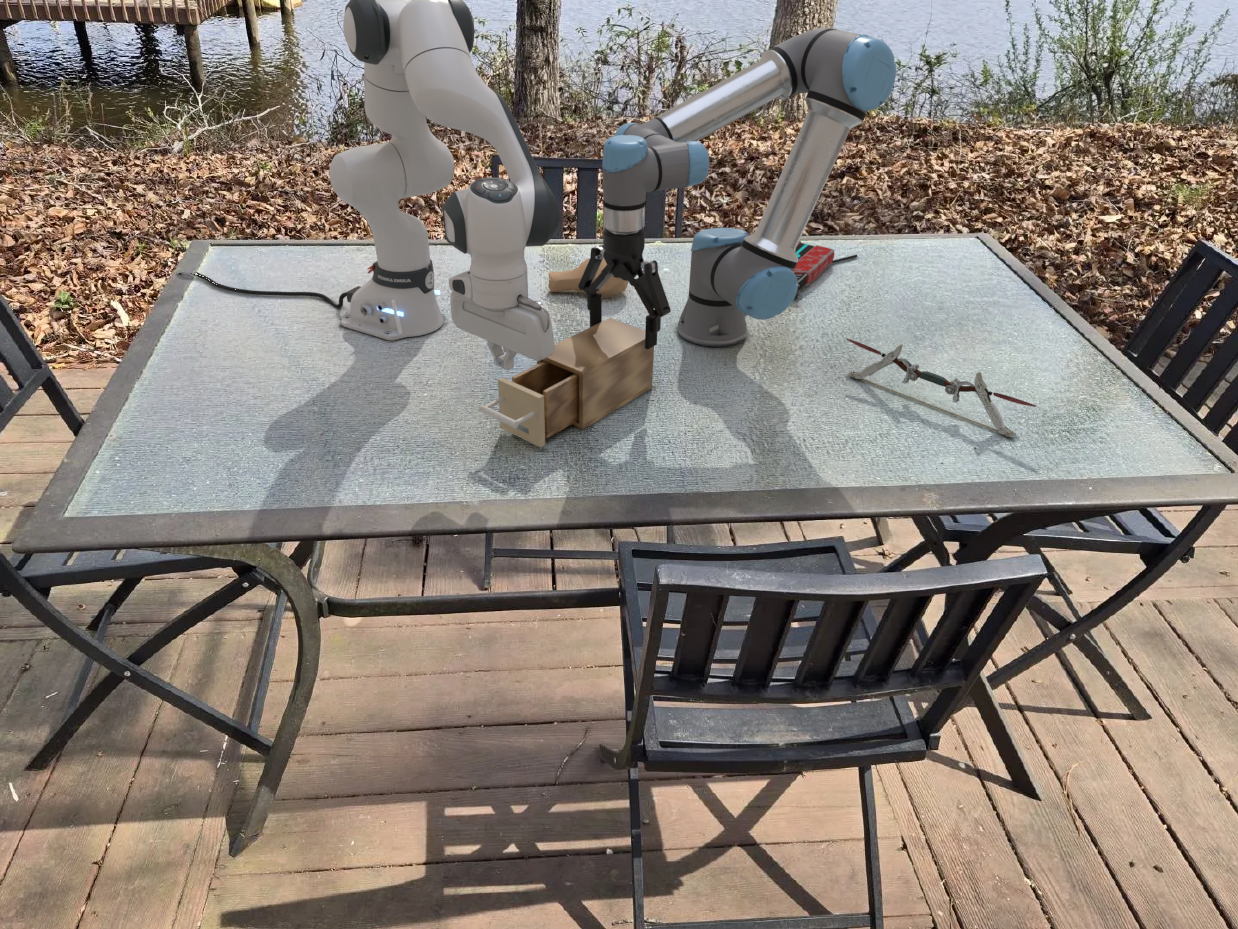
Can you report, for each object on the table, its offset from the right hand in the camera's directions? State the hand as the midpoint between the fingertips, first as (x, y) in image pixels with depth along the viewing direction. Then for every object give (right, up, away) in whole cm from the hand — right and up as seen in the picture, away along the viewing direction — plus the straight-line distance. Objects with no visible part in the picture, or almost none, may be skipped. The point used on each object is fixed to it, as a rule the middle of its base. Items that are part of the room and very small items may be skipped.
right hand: (622, 336), depth 168 cm
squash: (-8, +17, +44) cm, 48 cm away
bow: (+59, -13, +2) cm, 61 cm away
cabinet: (-5, -12, +1) cm, 13 cm away
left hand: (-20, -8, -24) cm, 32 cm away
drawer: (-14, -17, -8) cm, 23 cm away
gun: (+41, +24, +57) cm, 74 cm away
